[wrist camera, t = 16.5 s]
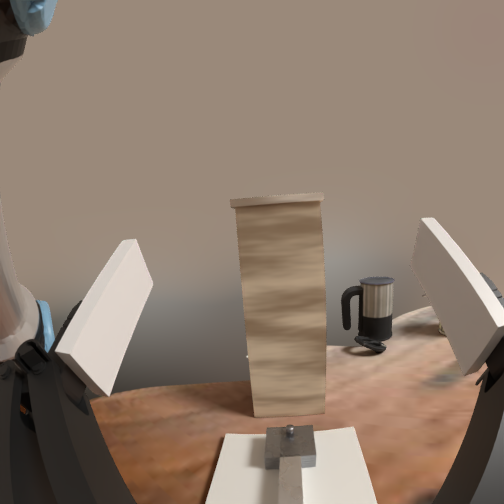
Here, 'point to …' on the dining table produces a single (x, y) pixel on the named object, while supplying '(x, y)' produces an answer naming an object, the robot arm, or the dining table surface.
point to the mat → (313, 478)
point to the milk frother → (371, 311)
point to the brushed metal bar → (290, 458)
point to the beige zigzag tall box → (284, 301)
